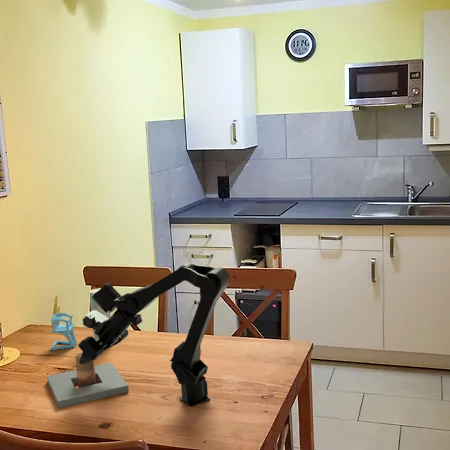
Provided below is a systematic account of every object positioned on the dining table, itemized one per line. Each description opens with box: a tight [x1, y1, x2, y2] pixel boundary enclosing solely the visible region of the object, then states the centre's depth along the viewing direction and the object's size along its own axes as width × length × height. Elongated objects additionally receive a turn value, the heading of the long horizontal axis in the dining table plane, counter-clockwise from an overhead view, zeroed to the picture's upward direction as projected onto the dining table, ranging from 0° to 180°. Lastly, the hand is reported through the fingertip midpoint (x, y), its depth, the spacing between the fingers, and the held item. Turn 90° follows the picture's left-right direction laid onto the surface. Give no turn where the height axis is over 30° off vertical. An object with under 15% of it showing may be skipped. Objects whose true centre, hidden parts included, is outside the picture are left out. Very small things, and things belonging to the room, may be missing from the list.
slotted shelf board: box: [46, 362, 129, 409], centre depth 188 cm, size 20×20×2 cm
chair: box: [49, 312, 78, 351], centre depth 222 cm, size 8×8×12 cm
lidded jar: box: [75, 352, 97, 388], centre depth 187 cm, size 5×5×10 cm
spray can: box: [88, 287, 111, 341], centre depth 220 cm, size 6×6×20 cm
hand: (89, 357), depth 186 cm, fingers open, 9 cm apart
